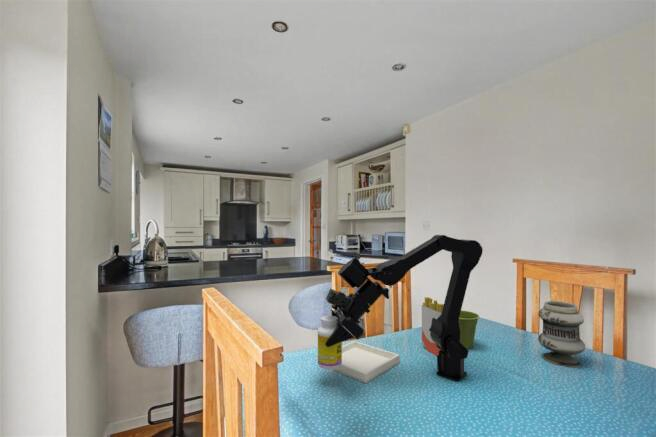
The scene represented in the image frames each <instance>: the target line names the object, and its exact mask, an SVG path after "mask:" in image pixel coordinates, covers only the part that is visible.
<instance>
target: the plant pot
mask: <svg viewBox="0 0 656 437" xmlns="http://www.w3.org/2000/svg"><path fill="white" fill-rule="evenodd" d="M479 318H480V315H479V314H478V313H476V312H473V311H469V310H462V309H461V312H460V316H459V326H460V331H461V335H460V343H461V344H462V345H463V346H464V347H465V348H466V349H467V350H469V349H472V348H473V347H474V342H475V336H476V329H477V325H478V319H479Z"/></svg>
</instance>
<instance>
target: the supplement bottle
mask: <svg viewBox="0 0 656 437" xmlns="http://www.w3.org/2000/svg"><path fill="white" fill-rule="evenodd" d="M336 320H338V318H337V317H335V316H331V315H325V316H322V317H321V318H320V322H321V326H319V327H318V329H317V365H318V367H319V368H320V369H323V370H329V371H330V370H332V369H337V368H339V367H340V366H341V364H342V346H343V343H342V342H343V341H342V342H340V343H337V344H335V345H332V346H330V347H327V346H326V345H325V343H326V342H327V340H328V339H329V337H330V336H331V334H332V333H333V331H334V330H335V329H336Z"/></svg>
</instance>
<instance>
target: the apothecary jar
mask: <svg viewBox="0 0 656 437" xmlns="http://www.w3.org/2000/svg"><path fill="white" fill-rule="evenodd" d="M543 304H544V305H543V307H542V308H540V309H539V311H538V312H537V313H538V316H539V318H540V320H542V332H541V333H540V334H539V335H538V338H537V340H538V342H539V344H540V345H541V347H543V348H545V349H546V350H549V351H550V352H545V353H543V354H542V358H543V359H544V360H546V361H547V362H549V363H552V364H555V365H558V366H566V367H568V368H569V367H570V368H576V367H577V366H578V367H580V366H581V365H582V363H581V361H580V360H578V358H576V357H573V356H574V355H579V354H582V353H583V352H584V351H585V349H586V344H585V342H584V341H583V340H582V339H581V337H580V336H581V334H580V325H582V324H584V321H585V318H584V316H583V315H582V313H580V312H579V311H578V307H577V305H576V304H574V303H571V302H567V301H558V300H549V301H545V302H544V303H543Z"/></svg>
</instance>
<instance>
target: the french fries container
mask: <svg viewBox="0 0 656 437" xmlns="http://www.w3.org/2000/svg"><path fill="white" fill-rule="evenodd" d="M443 306H444V303H438V300H437V299H436V300H435V299H434V300H433V298H431V297H427V296H424V302H422V304H421V341H422V343H423V345H424V348H425V350H426V351H428V352H429V353H430V354H432V355H434V356H435V357H437V356H438V355H439V351H440V349H439V348H437V346H436V343H435V342H433V340H432V339H431V337H430V331H429V329H430V327H431V324H432V318H435V319H438V317H439V316H440V315H441V313H442V310H443Z"/></svg>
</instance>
